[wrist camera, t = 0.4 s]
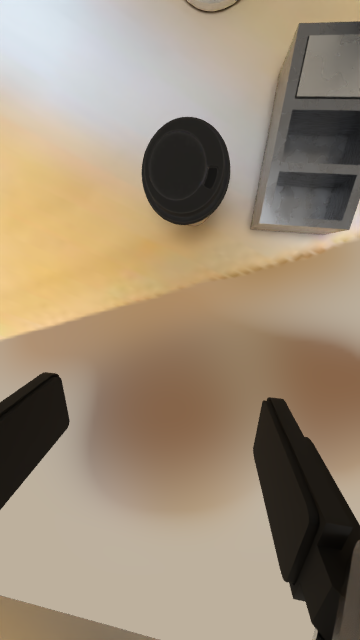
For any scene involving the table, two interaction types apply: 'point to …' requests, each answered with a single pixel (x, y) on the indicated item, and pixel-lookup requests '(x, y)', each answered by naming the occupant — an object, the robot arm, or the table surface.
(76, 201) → the table surface
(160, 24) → the table surface
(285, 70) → the rack
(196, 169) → the coffee cup
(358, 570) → the robot arm
